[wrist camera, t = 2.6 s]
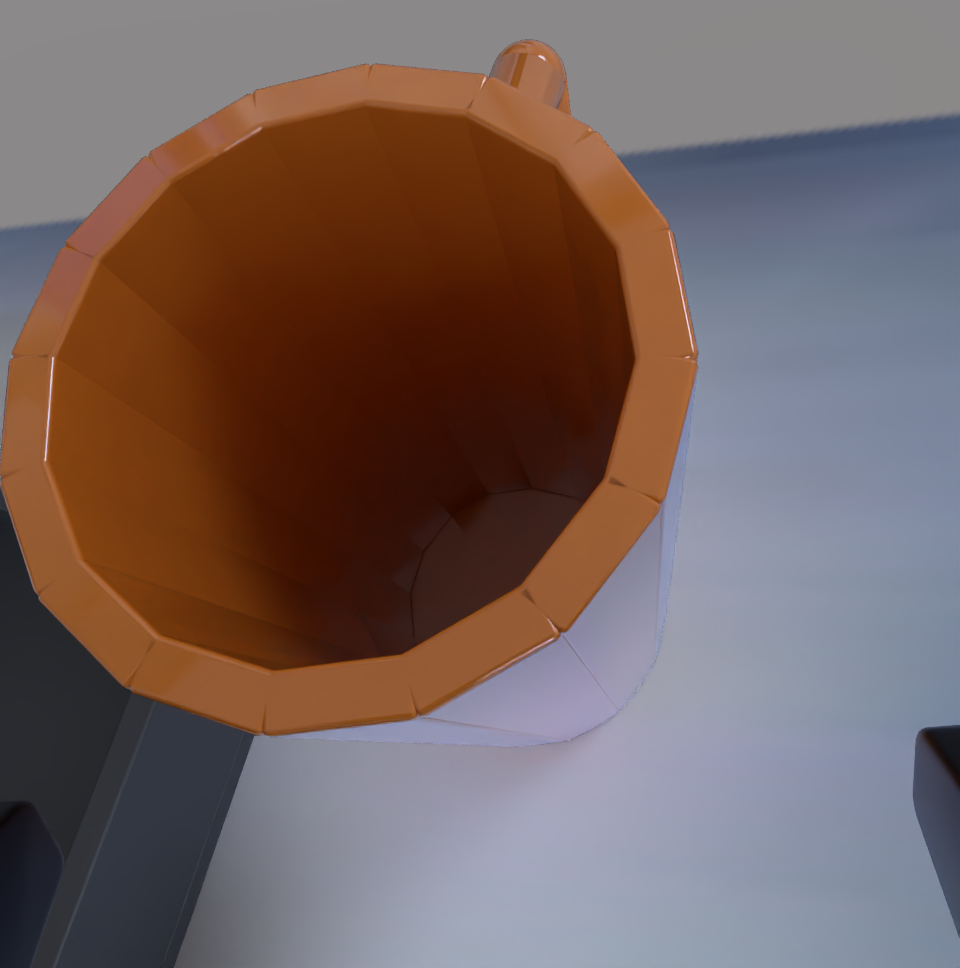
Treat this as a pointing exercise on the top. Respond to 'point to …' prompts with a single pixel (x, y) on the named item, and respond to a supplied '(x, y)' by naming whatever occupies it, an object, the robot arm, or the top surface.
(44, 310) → the tall orange mug
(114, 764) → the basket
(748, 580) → the top surface
